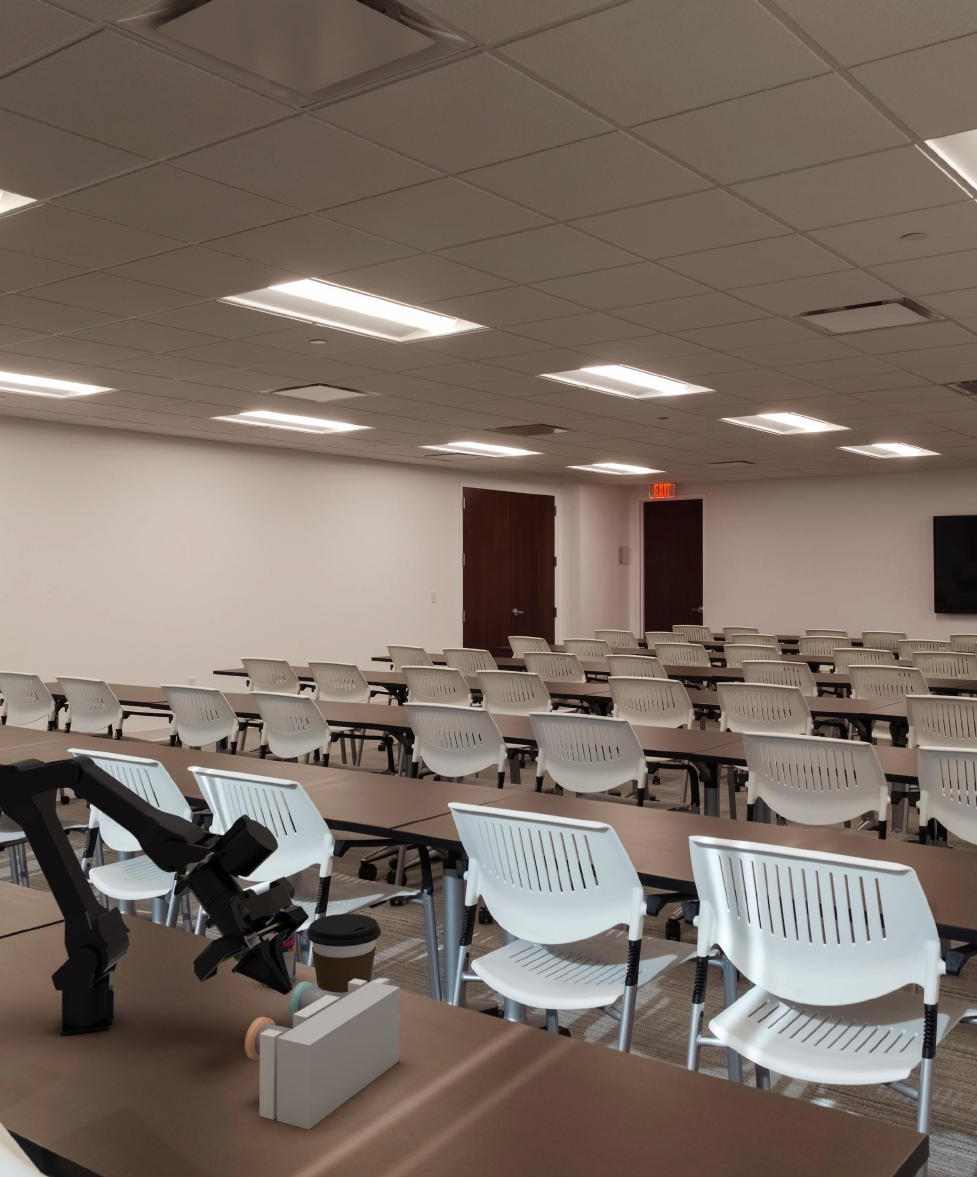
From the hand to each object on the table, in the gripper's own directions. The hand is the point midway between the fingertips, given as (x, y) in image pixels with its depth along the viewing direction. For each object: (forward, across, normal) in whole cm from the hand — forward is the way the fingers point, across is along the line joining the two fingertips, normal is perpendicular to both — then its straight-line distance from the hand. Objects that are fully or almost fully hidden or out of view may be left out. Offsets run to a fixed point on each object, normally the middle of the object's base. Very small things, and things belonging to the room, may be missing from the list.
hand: (288, 992), depth 142 cm
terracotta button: (+7, -12, -3) cm, 14 cm away
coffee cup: (+4, +16, +7) cm, 18 cm away
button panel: (+14, -6, -2) cm, 15 cm away
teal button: (+5, 0, -1) cm, 5 cm away
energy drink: (-6, +19, +17) cm, 27 cm away
